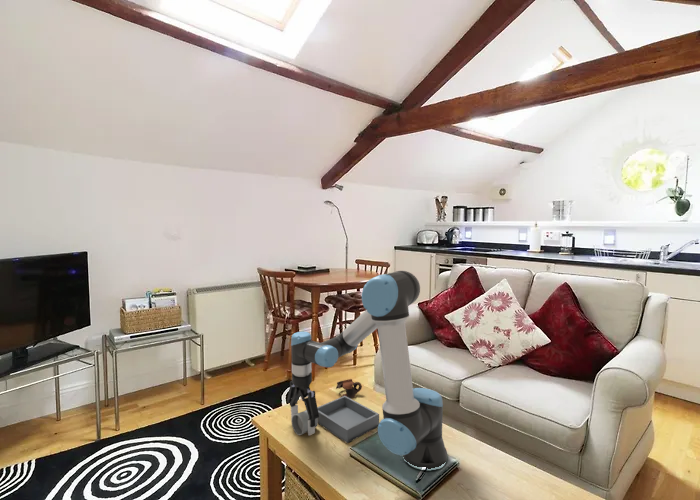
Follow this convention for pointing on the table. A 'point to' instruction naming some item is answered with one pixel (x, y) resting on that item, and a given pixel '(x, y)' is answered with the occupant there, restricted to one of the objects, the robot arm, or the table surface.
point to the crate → (347, 418)
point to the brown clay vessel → (349, 387)
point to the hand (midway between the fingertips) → (302, 427)
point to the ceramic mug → (301, 422)
